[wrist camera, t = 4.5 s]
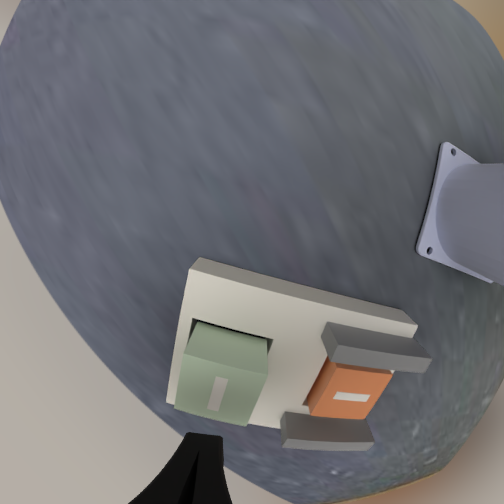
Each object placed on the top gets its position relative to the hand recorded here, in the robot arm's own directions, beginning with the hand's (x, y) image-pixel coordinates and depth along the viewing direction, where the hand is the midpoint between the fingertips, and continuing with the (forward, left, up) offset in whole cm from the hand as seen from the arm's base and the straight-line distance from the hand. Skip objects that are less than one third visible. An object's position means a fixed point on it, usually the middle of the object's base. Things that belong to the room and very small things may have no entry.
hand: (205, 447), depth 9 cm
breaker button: (-8, 0, -9) cm, 12 cm away
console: (-4, 0, -9) cm, 10 cm away
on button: (0, 0, -7) cm, 7 cm away
